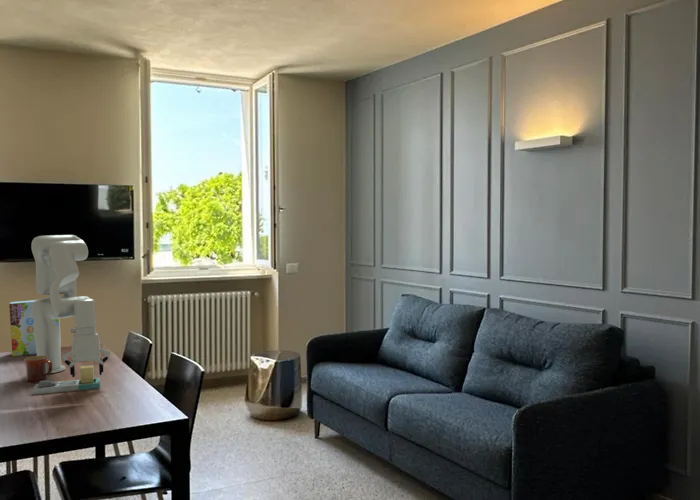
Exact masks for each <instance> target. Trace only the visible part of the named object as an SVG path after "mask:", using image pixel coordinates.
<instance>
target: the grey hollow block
mask: <svg viewBox="0 0 700 500" xmlns="http://www.w3.org/2000/svg"><path fill="white" fill-rule="evenodd" d="M53 382H54V379H47V380H41V381H40V382H38V384H39V388H43V387H53Z"/></svg>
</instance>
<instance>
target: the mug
mask: <svg viewBox="0 0 700 500" xmlns="http://www.w3.org/2000/svg"><path fill="white" fill-rule="evenodd" d="M23 361H24V364H25V368H26V369H25V370H26V375H25V376H26V382H27V383H31V384H32V383H33V384H37V383H39V382H40V381H41V380H48V376H49V375H50V374H52V373H51V372H52V369H53V364H52V362H51V361H50V360H48V356H37V355H32V356H27V357H25V358H24V359H23ZM47 363H48V364H49V371H48V373H47V367H46V364H47Z"/></svg>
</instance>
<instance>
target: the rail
mask: <svg viewBox="0 0 700 500" xmlns="http://www.w3.org/2000/svg"><path fill="white" fill-rule="evenodd" d="M96 389H97V390H98V389H101V377H95V378H94V383H86V384H81V379H75V380H73V379H72V380H63V381H53V387H43V388H39V383H34V386H33V388H32V395H33V396H35V395H44V394H52V393H65V392H73V391H85V390H96Z"/></svg>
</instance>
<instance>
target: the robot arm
mask: <svg viewBox="0 0 700 500" xmlns="http://www.w3.org/2000/svg"><path fill="white" fill-rule="evenodd" d="M30 248H31V252H32V255H33V258H34V261H35V286H36V292H37V294H38V295H41V296H49V297H42V298H37V299H35V300H36V301H35V302H34V303H33V305H32V312H33V316H34V322H35V331H36V353H37V354H36V356H48V360H50V361H51V362H52V364H53V369H52V372H51V373H50V374H54V373H55V374H56V373H60V372H62V371H65V370H66V365H67V366H69V369H70V370H69V371H70V373H69V374H70V376H71V378H75V377H76V369H75V364H76V363H85V362H95V361H97V362H98V363H99V365H98V371H99V372H98V373H99V376H101V375H102V373H104V364H105V362H107V361H108V359H109V357H110V355H111V351H110V350H107V349H104V348H101V343H100V341H101V340H100V337H99V334H98V333H97V325H96V323H97V322H96V321H97V320H96V302H95V299H93V298H90V297H89V296H87V295H80V296H77V279H78V277H79V275H80V270H79V267H78V264H77V261H78V262H79V261H84V260H87V258H88V256H89V249H88V246H87V243H86V242H85V241H84V240H83V239H81V238H80V237H78V236H77V235H74V234H54V235H53V234H50V235H38V236H36V237H34V238H33V239H32V241H31V246H30ZM61 295H62V296H61ZM71 317H74V318H73V320H74V321H73V322H74V328H71V329H70V333H73V336H72V338H71V349H70V351H68V352H66V353H64V354H62V351H61V348H62V345H61V346H60V335H61V328H60V329H59V327H58V326H57V325H56V324H55V323H54V321H53V320H54V319H67V318H71ZM101 353H102V354H105V355H104V357H103V358H102V356H101V355H102V354H101ZM70 356H71V361H70V360H69V359H68V357H70ZM62 360H63V362H64V363H65V364H66V365H63V364H62ZM46 367H47V373H48V371H49V364H48V363H47V364H46Z"/></svg>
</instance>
